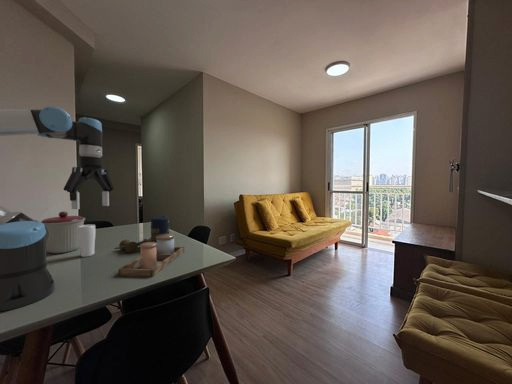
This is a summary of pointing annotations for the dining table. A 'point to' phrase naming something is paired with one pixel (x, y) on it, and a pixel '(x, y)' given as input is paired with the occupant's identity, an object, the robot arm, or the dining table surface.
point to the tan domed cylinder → (148, 255)
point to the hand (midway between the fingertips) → (91, 207)
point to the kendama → (131, 245)
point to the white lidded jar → (165, 243)
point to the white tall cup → (86, 239)
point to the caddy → (167, 259)
